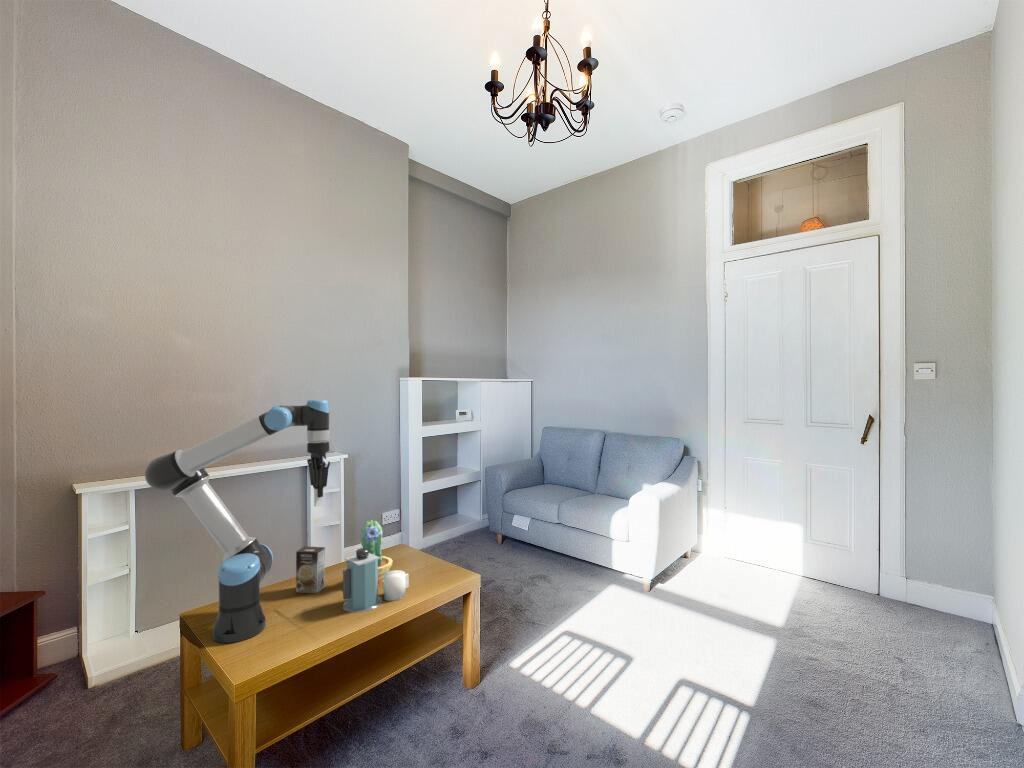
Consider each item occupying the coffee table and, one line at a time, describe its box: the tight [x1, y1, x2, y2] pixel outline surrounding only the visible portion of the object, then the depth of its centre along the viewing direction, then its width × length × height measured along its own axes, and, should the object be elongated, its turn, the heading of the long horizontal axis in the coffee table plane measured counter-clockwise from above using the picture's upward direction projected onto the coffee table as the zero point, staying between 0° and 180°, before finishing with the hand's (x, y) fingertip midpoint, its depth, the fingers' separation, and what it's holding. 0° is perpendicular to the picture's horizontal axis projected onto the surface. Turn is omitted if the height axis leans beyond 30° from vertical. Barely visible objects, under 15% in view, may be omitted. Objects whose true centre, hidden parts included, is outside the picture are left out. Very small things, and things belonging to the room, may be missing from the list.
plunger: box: [355, 547, 369, 560], centre depth 171 cm, size 8×8×16 cm
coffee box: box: [295, 545, 326, 594], centre depth 185 cm, size 9×6×16 cm
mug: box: [383, 569, 410, 602], centre depth 177 cm, size 10×8×9 cm
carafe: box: [342, 553, 380, 610], centre depth 170 cm, size 12×10×16 cm
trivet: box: [342, 595, 384, 613], centre depth 171 cm, size 14×14×1 cm
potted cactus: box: [360, 519, 393, 584], centre depth 191 cm, size 15×15×25 cm
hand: (318, 505), depth 172 cm, fingers closed
